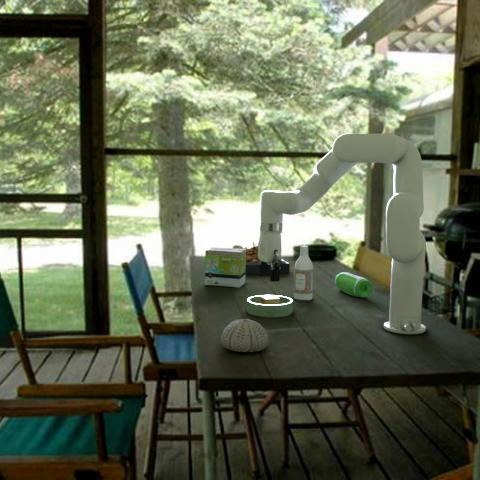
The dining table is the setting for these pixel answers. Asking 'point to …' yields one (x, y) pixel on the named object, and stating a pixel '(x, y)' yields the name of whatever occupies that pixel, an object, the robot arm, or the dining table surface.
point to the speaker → (353, 284)
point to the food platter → (258, 261)
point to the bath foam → (303, 276)
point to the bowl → (269, 307)
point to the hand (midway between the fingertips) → (269, 278)
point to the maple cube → (270, 300)
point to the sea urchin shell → (244, 336)
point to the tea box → (225, 267)
